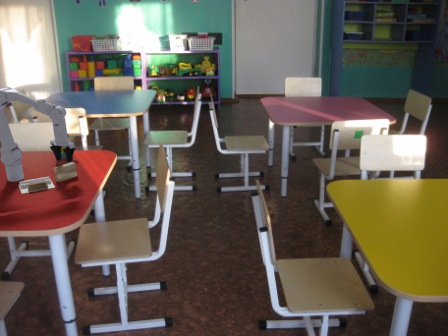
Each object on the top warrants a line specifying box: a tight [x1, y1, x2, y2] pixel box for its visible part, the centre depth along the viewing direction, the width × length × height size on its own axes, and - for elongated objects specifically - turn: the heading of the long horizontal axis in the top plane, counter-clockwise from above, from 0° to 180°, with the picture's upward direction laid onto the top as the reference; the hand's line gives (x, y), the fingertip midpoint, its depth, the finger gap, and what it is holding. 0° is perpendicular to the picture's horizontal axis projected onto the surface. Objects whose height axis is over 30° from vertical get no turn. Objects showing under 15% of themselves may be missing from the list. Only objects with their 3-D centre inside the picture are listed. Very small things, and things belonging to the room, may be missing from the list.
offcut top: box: [28, 180, 46, 188], centre depth 204 cm, size 3×7×2 cm, turn 119°
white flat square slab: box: [18, 176, 56, 195], centre depth 209 cm, size 14×14×3 cm
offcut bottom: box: [28, 183, 48, 193], centre depth 205 cm, size 3×8×2 cm, turn 119°
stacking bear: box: [53, 133, 78, 166], centre depth 244 cm, size 11×10×18 cm
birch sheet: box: [53, 162, 78, 183], centre depth 217 cm, size 3×10×7 cm, turn 147°
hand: (64, 161), depth 216 cm, fingers open, 7 cm apart
